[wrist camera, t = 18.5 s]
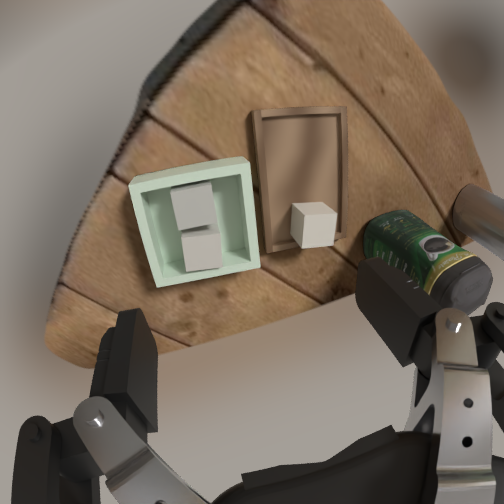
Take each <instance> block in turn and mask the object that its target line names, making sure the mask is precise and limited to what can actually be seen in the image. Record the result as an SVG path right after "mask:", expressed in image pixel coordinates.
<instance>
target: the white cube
mask: <svg viewBox="0 0 504 504" xmlns="http://www.w3.org/2000/svg"><path fill="white" fill-rule="evenodd" d="M336 220H337V213H336V212H335V211H334V210H332V209H331V208H330V207H328V206H327V205H326V204H324V203H323V202H310V203H292V214H291V230H290V234H291V236H292V237H293V238H294V239H295V241H296V242H297V243H298V244H299V246H300V247H301V248H302V249H303V248H313V247H322V246H332V245H333V243H334V236H335V228H336Z"/></svg>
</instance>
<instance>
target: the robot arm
mask: <svg viewBox="0 0 504 504" xmlns="http://www.w3.org/2000/svg"><path fill="white" fill-rule="evenodd" d="M453 223H454V226H455V227H456V229H458V230H459V231H461V232H462V233H464V234H465V235H467V236H469V237H470V238H471V239H473V240H474V241H476V242H477V243H479V244H481V245H482V246H483V247H485V248H486V249H488V250H489V251H491V252H492V253H493V254H495V255H496V256H498V257H499V258H500V259H502V260H503V261H504V199H502V198H501V197H498V196H497V195H494V194H493V193H491V192H489V191H487V190H485V189H483V188H481V187H478V186H476V185H474V184H469V185H467V186H466V187H464V188H463V189H462V191H461V192H460V194H459V195H458V197H457V199H456V202H455V205H454V209H453ZM355 296H356V302H357V305H358V307H359V309H360V311H361V312H362V313H363V314H364V316H365V317H366V318H367V320H368V321H369V322H370V324H371V325H372V326H373V328H374V329H375V330H376V332H377V333H378V334H379V336H380V337H381V338H382V340H383V341H384V342H385V343H386V345H387V346H388V348H389V349H390V350H391V352H392V353H393V354H394V356H395V357H396V358H397V360H398V361H399V363H400V364H401V365H402V367H405V366H407V365H409V364H411V363H413V362H414V363H415V365H416V368H415V372H414V381H413V391H412V400H411V407H410V413H409V417H408V420H407V422H406V425H405V428H404V431H400V432H395V430H394V429H393V427H392V425H390V426H388V427H385V428H383V429H381V430H379V431H377V432H374V433H372V434H370V435H368V436H365V437H363V438H360V439H358V440H357V441H355V442H354V443H353V444H351V445H350V446H348V447H347V448H345V449H344V450H342V451H341V452H339V453H338V454H336V455H335V456H333V457H332V458H330V459H328V460H327V461H324V462H318V463H307V464H293V465H279V466H276V467H271V468H267V469H263V470H258V471H253V472H249V473H243V474H241V476H242V480H243V482H241V483H239V484H236V485H234V486H233V487H231V488H229V489H227V490H226V491H225V492H223V493H222V494H220V495H219V496H218V497H217V498H216V499H215V500H214V501H213V502H212V503H210V502H209V501H208V500H207V499H205V498H204V497H203V496H202V495H200V494H199V493H198V492H197V491H196V490H195V489H193V488H192V487H191V486H190V485H189V484H188V483H187V482H185V481H184V480H183V479H182V478H181V477H180V476H179V475H178V474H177V473H176V472H175V471H174V470H173V469H172V468H171V467H170V466H169V465H167V463H166V462H165V461H163V459H162V458H161V457H160V456H159V455H158V454H157V453H156V452H155V451H154V450H153V449H152V448H151V447H150V446H149V445H148V444H147V433H152V432H158V425H157V424H158V423H157V421H158V420H157V367H158V352H157V346H156V342H155V339H154V337H153V335H152V333H151V330H150V328H149V326H148V323H147V321H146V319H145V316H144V314H143V312H142V310H141V309H140V308H137V309H131V310H125V311H120V312H119V314H118V318H117V322H116V327H111V328H109V329H108V330H107V332H106V333H105V334H104V336H103V337H102V339H101V343H100V347H99V353H98V356H97V362H96V365H95V370H94V375H93V380H92V385H91V390H90V396H89V398H87V399H85V400H84V401H82V402H81V403H80V404H79V405H78V406H77V408H76V410H75V412H74V415H73V417H71V418H69V419H66V420H63V421H60V422H57V423H54V424H51V423H50V422H49V421H48V420H47V419H46V418H45V417H43V416H33V417H30V418H29V419H27V420H26V421H25V422H24V423H23V425H22V426H21V428H20V431H19V436H18V442H17V449H16V455H15V463H14V472H13V481H12V497H11V504H101V502H100V485H99V476H102V475H105V476H106V478H107V480H106V482H105V483H106V486H107V488H108V489H109V491H110V492H111V494H112V495H113V496H114V497H115V499H116V500H117V501H118V502H119V504H504V458H502V457H498V456H494V455H492V415H493V416H494V418H495V419H496V421H497V423H498V424H499V426H500V427H501V429H502V430H503V432H504V369H503V368H502V366H501V365H500V364H499V363H498V362H497V360H496V358H497V356H498V355H499V353H500V351H501V350H502V351H503V353H504V304H503V303H500V302H492V303H490V304H489V305H488V306H487V307H486V310H485V312H484V315H482V316H475V317H469V316H468V315H467V314H465V313H464V312H462V311H461V310H458V309H455V308H445V309H443V308H442V307H441V306H440V305H439V304H438V303H437V302H436V301H435V300H434V299H433V298H432V297H431V296H430V295H429V294H428V293H426V292H425V291H424V290H423V289H422V288H421V287H419V285H418V284H417V283H416V282H415V281H412V278H410V277H409V276H408V275H407V274H406V273H405V272H404V271H402V270H400V269H398V268H396V267H393V266H390V265H388V264H387V263H386V262H385V261H384V260H383V259H382V258H381V257H374V258H370V259H366V260H362V261H360V262H359V265H358V274H357V284H356V293H355Z"/></svg>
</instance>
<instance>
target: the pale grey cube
mask: <svg viewBox="0 0 504 504" xmlns="http://www.w3.org/2000/svg"><path fill="white" fill-rule="evenodd" d="M181 239H182V246H183V254H184V261H185V267H186V272H188V271H197V270H205V269H213V268H221V267H223V262H222V249H221V235H220V230H219V227H218V224H217V223H213V224H208V225H203V226H198V227H193V228H189V229H184V230H181Z"/></svg>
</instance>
